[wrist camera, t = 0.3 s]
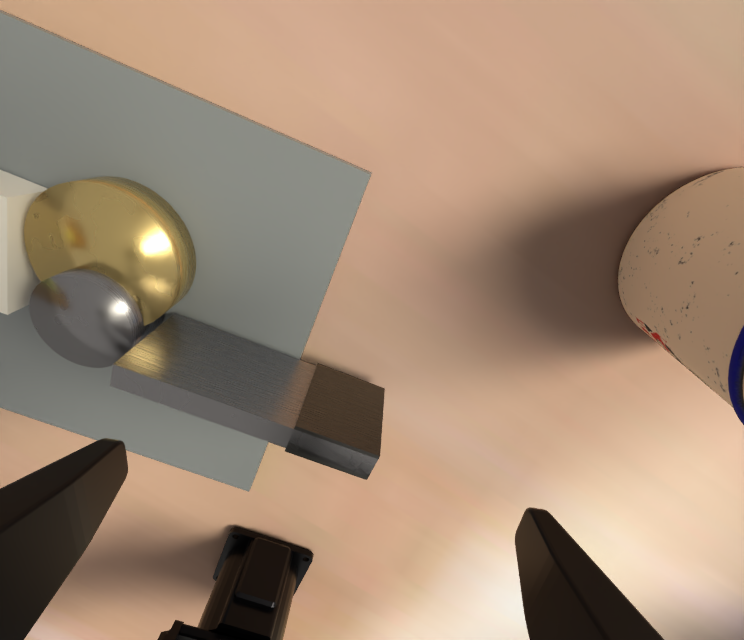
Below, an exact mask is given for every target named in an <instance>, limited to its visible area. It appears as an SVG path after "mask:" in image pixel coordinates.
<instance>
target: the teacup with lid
mask: <svg viewBox="0 0 744 640" xmlns="http://www.w3.org/2000/svg"><path fill="white" fill-rule="evenodd" d="M618 289H619V295H620V299H621V302H622V305H623V307H624V309H625V311H626V312H627V314H628V316H629V317H630V318H631V319H632V321H633V322H634V323H635V324H636V325H637V326H638V327H639V328H640V329H642V330H643V331H644V332H645V333H646V334H647V335H649V336H650V337H651V338H652V339H653V340H655V341H656V342H657V343H658V344H659V345H660V346H662V347H663V348H664V349H665V350H666V351H667V352H669V353H670V354H671V355H672V356H673V357H674V358H676V359H677V360H678V361H679V362H680V363H681V364H683V365H684V366H685V367H686V368H687V369H689V370H690V371H691V372H692V373H693V374H694V375H696V376H697V377H698V378H699V379H700V380H701V381H703V382H704V383H705V384H706V385H707V386H708V387H710V388H711V389H712V390H713V391H714V392H715V393H717V394H718V395H719V396H720V397H721V398H723V399H724V400H725V401H726V402H727V403H728V404H730V405H731V406H732V407H733V408H734V410H735V412H736V414H737V416H738V418H739V419H740V421H741V422H742V423H743V425H744V167H739V168H732V169H726V170H722V171H718V172H714V173H711V174H708V175H705V176H703V177H701V178H698V179H696V180H694V181H692V182H690V183H688V184H686V185H684V186H682V187H681V188H679V189H677V190H676V191H674V192H673V193H671V194H670V195H669V196H667V197H666V198H664V199H663V200H662V201H661V202H660V203H659V204H657V205H656V206H655V207H654V208H653V209H652V210H651V211H650V212H649V213H648V214H647V215H646V216H645V218H644V219H643V220H642V221H641V222H640V224H639V225H638V226H637V228H636V229H635V231H634V232H633V234H632V236H631V237H630V239H629V241H628V243H627V245H626V247H625V250H624V252H623V255H622V258H621V262H620V266H619V272H618Z"/></svg>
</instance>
